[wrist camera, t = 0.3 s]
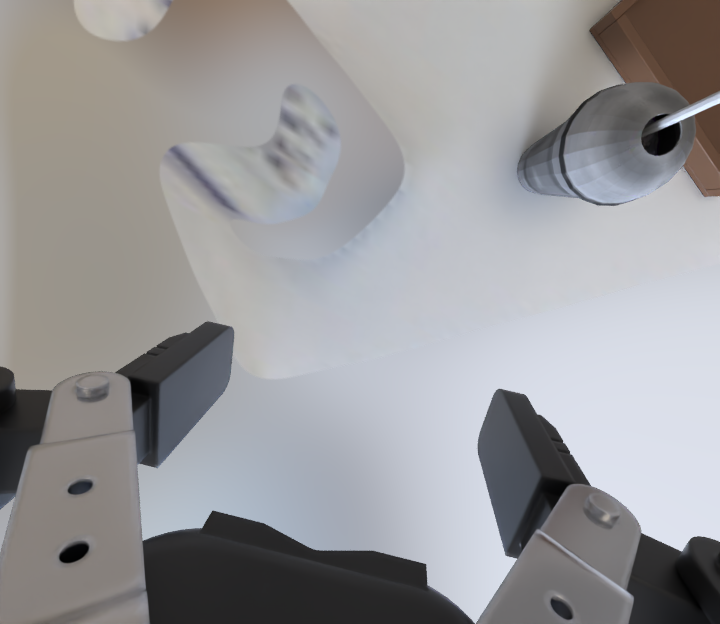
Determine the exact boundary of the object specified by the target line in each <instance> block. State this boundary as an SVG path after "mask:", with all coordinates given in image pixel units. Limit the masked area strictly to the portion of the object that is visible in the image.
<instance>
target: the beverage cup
mask: <svg viewBox="0 0 720 624" xmlns="http://www.w3.org/2000/svg"><path fill="white" fill-rule="evenodd" d="M719 103H720V91H718V92H716V93H714V94H712V95H710V96H708V97H706V98H704V99H702V100H700V101H697V102H695V103H693V104H691V105H689V103H688V101H687V100H686V99H685V98H684V97H683V96H681V95H680V94H679V93H678V92H677V91H676V90H674V89H672V88H669V87H667V86H664V85H661V84H659V83H653V82H633V83H627V84H624V85H616V86H613V87H610V88H607V89H604V90H601V91H599V92H597V93H596V94H594V95H593V96H591V97H590V98H589V99H587V100H586V101H584V102H583V103H582V104H581V105H580V106H579V108H578V109H577V110H576V111H575V112H574V113H573V114H572V115H571V117H570V118H569V119H568V120H567V121H566V122H564V123H563V124H562V125H560V126H559V127H557V128H556V129H554V130H553V131H552V132H550V133H549V134H547V135H546V136H544V137H543V138H541V139H540V140H539V141H537V142H536V143H534V144H533V145H532V146H531V147H530V148H528V149H527V150H526V151H525V152H524V154H523V155H522V156H521V158H520V161H519V163H518V170H517V173H518V178H519V181H520V183H521V184H522V186H523V187H524V188H526V189H527V190H528V191H530V192H533V193H539V194H541V195H553V196H564V197H575V198H580V199H582V200H585V201H587V202H590V203H593V204H596V205H606V206H616V205H619V204H623V203H626V202H629V201H633V200H635V199H637V198H640V197H643V196H646V195H648V194H650V193H651V192H653V191H654V190H656V189H658V188H659V187H661V186H662V185H664V184H665V183H667V182H668V181H669V180H670V179H671V178H672V177H673V176H674V175H675V174H676V173H677V172H678V170H679V169H680V168H681V167H682V166H683V165H684V163H685V161H686V160H687V158H688V156H689V154H690V152H691V150H692V148H693V143H694V139H695V134H696V126H695V116H694V114H697V113H699V112H701V111H703V110H705V109H708V108H710V107H712V106H714V105H717V104H719Z"/></svg>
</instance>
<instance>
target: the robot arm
mask: <svg viewBox="0 0 720 624" xmlns="http://www.w3.org/2000/svg"><path fill="white" fill-rule="evenodd" d="M233 342H234V330H233V328H232V327H230V326H226V325H222V324H217V323H213V322H205V323H204V324H202V325H201V326H199V327H198V328H196V329H195V330H194V331H192V332H191V333H183V334H180V335H176V336H173V337H170V338H168V339H166V340H165V341H163V342H162V343H160V344H158V345H157V347H154V348H152V349H151V350H149V351H148V352H147V353H146V354H143V355H141V356H140V357H139V358H137V359H135V360H134V361H132V362H131V363H129V364H128V365H126V366H124V367H123V368H121V369H120V370H118V371H117V372H115V373H113V372H88V373H83V374H79V375H75V376H72V377H70V378H67V379H65V380H63V381H62V382H60V383H59V384H57V385H56V386H55V387H54V389H53V391H49V390H19V389H18V390H17V389H16V388H15V380H14V374H13V372H12V371H10V370H9V369H7V368H4V367H0V509H1V508H3V507H4V505H6V504H7V503H8V502H9V501H11V500H12V499H13V498H14V497H15V500H14V503H13V507H12V511H11V515H10V518H9V522H8V526H7V530H6V534H5V537H4V541H3V545H2V549H1V552H0V624H475V623H474V622H473V621H472V620H471V619H470V618H469V617H468V616H467V615H466V614H465V613H464V612H463V611H462V610H461V609H460V608H459V607H458V606H457V605H455V604H454V603H453V602H452V601H450V600H449V599H448V598H447V597H445V596H444V595H442V594H440V593H439V592H438V591H436V590H435V589H433V588H431V587H430V586H428V585H427V571H426V564H423V563H419V562H415V561H411V560H407V559H403V558H399V557H395V556H391V555H387V554H383V553H380V552H376V551H319V550H313V549H311V548H309V547H307V546H305V545H303V544H301V543H299V542H298V541H296V540H294V539H292V538H290V537H288V536H286V535H284V534H283V533H281V532H279V531H277V530H275V529H273V528H271V527H270V526H268V525H266V524H264V523H260V522H255V521H252V520H248V519H244V518H240V517H236V516H232V515H228V514H224V513H220V512H216V511H212V513H211V514H210V516H209V518H208V519H207V521H206V522H205V524H204V526H203V528H200V529H199V528H195V529H185V530H178V531H173V532H169V533H165V534H161V535H158V536H155V537H152V538H149V539H147V540H144V541H142V528H141V512H140V497H139V483H138V468H137V465H138V464H144V465H148V466H152V467H156V468H158V467H159V466H160V465H161V463H162V462H163V461H164V460H165V459H166V458H167V457H168V456H169V454H170V453H171V452H172V451H173V450H174V449H175V447H176V446H177V445H178V444H179V443H180V442H181V441H182V439H183V438H184V437H185V436H186V435H187V434H188V433H189V431H190V430H191V429H192V428H193V427H194V426H195V425H196V423H197V422H198V421H199V420H200V419H201V418H202V417H203V415H204V414H205V413H206V412H207V411H208V410H209V409H210V407H211V406H212V405H213V404H214V403H215V402H216V400H217V399H218V398H219V397H220V396H221V395H222V394H223V392H224V391H225V389H226V387H227V385H228V382H229V379H230V373H231V364H232V353H233ZM478 455H479V458H480V462H481V466H482V469H483V474H484V477H485V481H486V484H487V488H488V492H489V496H490V499H491V503H492V506H493V510H494V514H495V517H496V521H497V525H498V528H499V532H500V536H501V540H502V543H503V547H504V551H505V555H506V556H509V557H513V558H517V560H516V562H515V564H514V565H513V567H512V568H511V570H510V571H509V573H508V575H507V576H506V578H505V579H504V581H503V582H502V584H501V585H500V587H499V589H498V590H497V592H496V593H495V595H494V596H493V598H492V600H491V601H490V603H489V604H488V606H487V607H486V609H485V610H484V612H483V613H482V615H481V616H480V618H479V620H478V621H477V623H476V624H720V542H718V541H716V540H713V539H710V538H706V537H699V536H698V537H693V538H691V539H690V541H689V542H688V544H687V545H686V547H685V548H684V550H683V551H682V552H681V551H679V550H677V549H674V548H673V547H670V546H668V545H666V544H664V543H662V542H659V541H657V540H655V539H653V538H651V537H648V536H646V535H644V534H642V533H641V528H640V525H639V523H638V521H637V520H636V518H635V517H634V515H633V514H632V513H631V512H630V511H629V510H628V509H627V508H626V507H625V506H624V505H623V504H622V503H620V502H619V501H618V500H616V499H615V498H614V497H612V496H610V495H609V494H607V493H605V492H603V491H601V490H599V489H597V488H595V487H592V486H591V485H590V483H589V482H588V480H587V479H586V477H585V475H584V474H583V472H582V471H581V469H580V467H579V466H578V464H577V462H576V461H575V460H574V458H573V456H572V455H570V451H569V450H568V448H567V446H566V445H565V444H564V443H563V440H562V438H561V436H560V435H559V433H558V432H557V430H556V428H554V427H553V426H552V425H551V424H550V423H549V422H548V421H547V420H546V419H545V418H543V417H542V416H541V415H537V414H536V412H535V410H534V408H533V407H532V405H531V403H530V401H529V400H528V398H527V396H526V395H524V394H520V393H515V392H511V391H507V390H503V389H498V390H496V392H495V393H494V395H493V398H492V401H491V404H490V406H489V409H488V412H487V415H486V417H485V420H484V423H483V425H482V428H481V431H480V435H479V439H478Z"/></svg>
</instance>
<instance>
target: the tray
mask: <svg viewBox="0 0 720 624" xmlns="http://www.w3.org/2000/svg"><path fill="white" fill-rule="evenodd" d="M590 32H591V33H592V35H593V36H594V38H595V39H596V40H597V42H598V43H599V45H600V46H601V48H602V49H603V51H604V52H605V53H606V55H607V56H608V58H609V59H610V61H611V62H612V64H613V65H614V66H615V68H616V69H617V71H618V72H619V74H620V75H621V77H622V78H623V79H624V81H625V82H626V84H627V83H633V82H653V83H659V84H661V85H664V86H667V87H669V88H672V89H674V90H676V91H677V92H678V93H679V94H680V95H681V96H683V97H684V98H685V99H686V100H687V101H688V103H689V105H691V104H693V103H695V102H697V101H700V100H702V99H704V98H706V97H708V96H710V95H712V94H714V93H716V92H718V91H720V0H621V1H620V2H619V3H618V4H617V5H616V6H615V7H614V8H613V9H612V10H610V11H609V12H608V13H607V14H606V15H605V16H604V17H603V18H602V19H601V20H600V21H599V22H597V23H596V24H595V25H594V26H593V27H592V28H591V29H590ZM694 116H695V126H696V134H695V139H694V143H693V148H692V150H691V152H690V154H689V156H688V158H687V160H686V161H685V163H684V165H683V166H684V168H685V169H686V170H687V172H688V173H689V175H690V176H691V178H692V179H693V181H694V182H695V183H696V185H697V186H698V188H699V189H700V191H701V192H702V194H703V195H704V196H705V197H708V196H720V103H719V104H717V105H714V106H712V107H710V108H708V109H705V110H703V111H701V112H699V113H697V114H694Z"/></svg>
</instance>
